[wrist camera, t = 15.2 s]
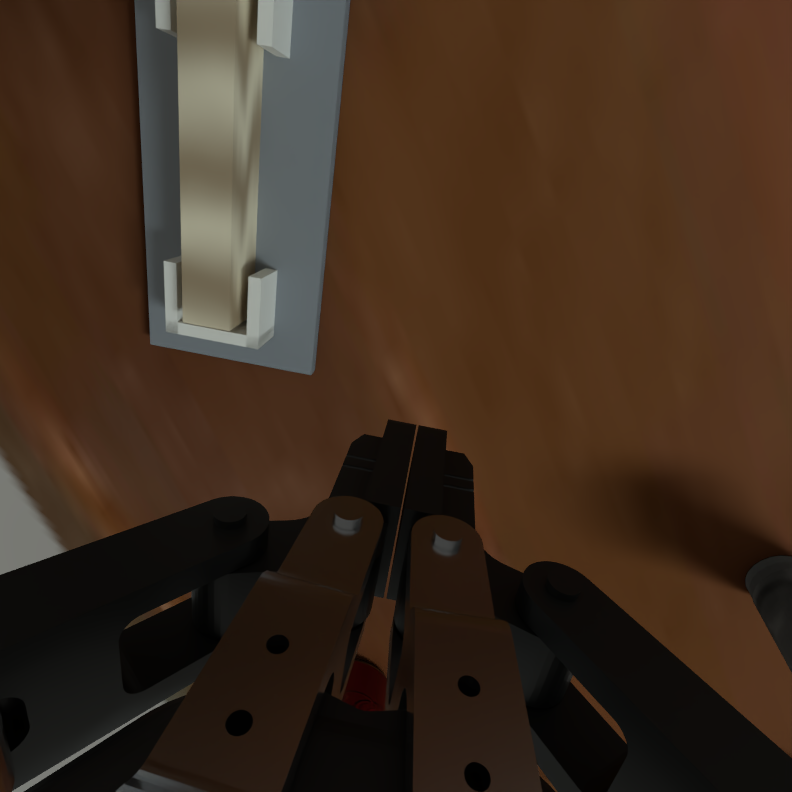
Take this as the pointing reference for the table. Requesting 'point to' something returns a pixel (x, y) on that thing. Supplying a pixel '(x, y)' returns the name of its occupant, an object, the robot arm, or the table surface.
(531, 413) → the table surface
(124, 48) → the table surface
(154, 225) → the cap board
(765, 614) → the beverage cup
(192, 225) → the slat
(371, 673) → the soda can
